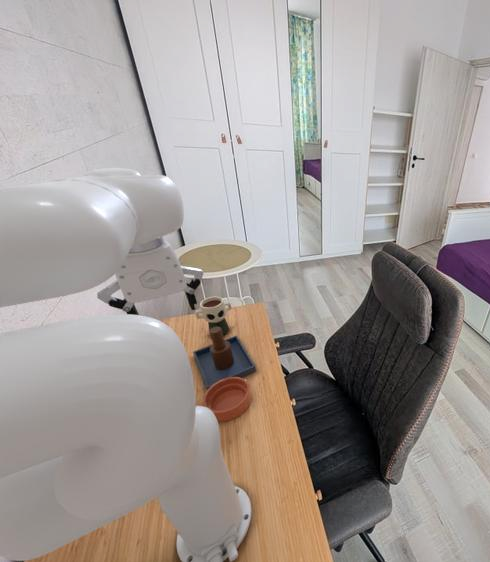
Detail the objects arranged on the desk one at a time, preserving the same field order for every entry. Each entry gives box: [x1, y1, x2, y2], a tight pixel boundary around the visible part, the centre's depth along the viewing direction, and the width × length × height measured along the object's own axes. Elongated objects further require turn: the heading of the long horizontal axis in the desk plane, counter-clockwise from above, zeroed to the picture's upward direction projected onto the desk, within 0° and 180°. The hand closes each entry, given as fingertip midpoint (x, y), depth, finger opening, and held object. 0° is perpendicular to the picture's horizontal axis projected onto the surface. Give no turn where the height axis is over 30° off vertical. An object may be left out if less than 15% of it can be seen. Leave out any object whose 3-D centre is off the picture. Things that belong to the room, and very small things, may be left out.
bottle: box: [208, 327, 234, 370], centre depth 84 cm, size 5×5×14 cm
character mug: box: [194, 295, 233, 336], centre depth 97 cm, size 11×7×13 cm, turn 126°
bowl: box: [202, 377, 253, 423], centre depth 76 cm, size 11×11×4 cm
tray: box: [192, 335, 257, 391], centre depth 87 cm, size 17×13×3 cm
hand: (167, 314), depth 61 cm, fingers open, 9 cm apart
